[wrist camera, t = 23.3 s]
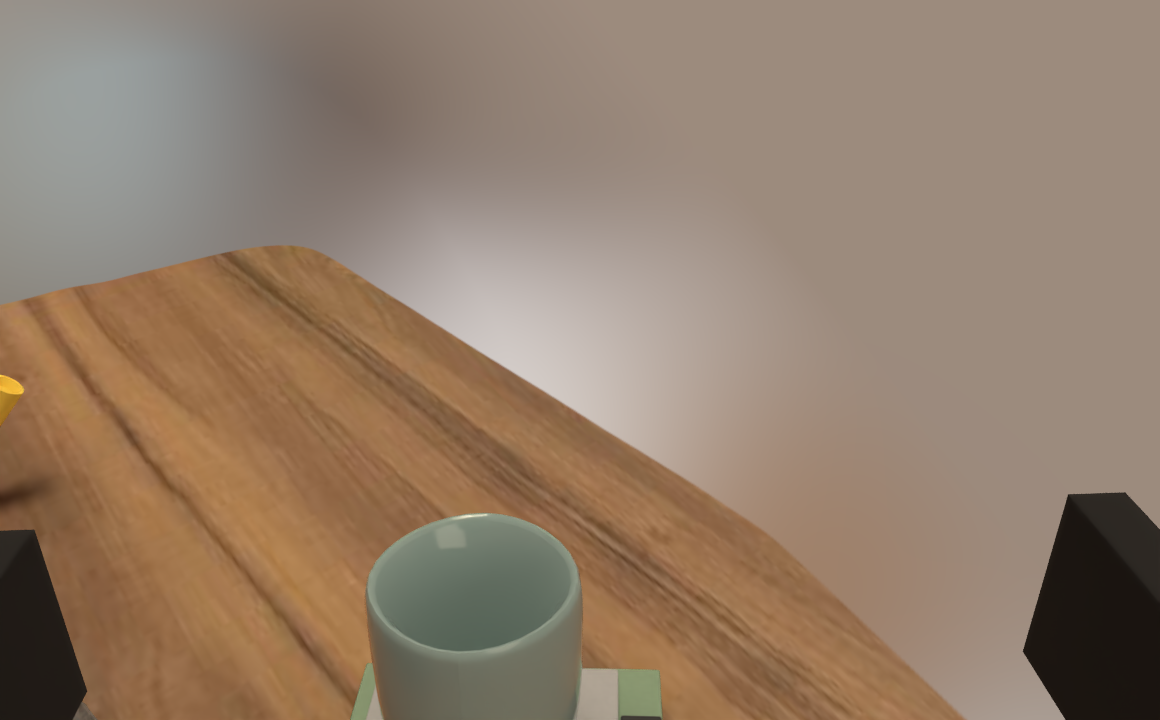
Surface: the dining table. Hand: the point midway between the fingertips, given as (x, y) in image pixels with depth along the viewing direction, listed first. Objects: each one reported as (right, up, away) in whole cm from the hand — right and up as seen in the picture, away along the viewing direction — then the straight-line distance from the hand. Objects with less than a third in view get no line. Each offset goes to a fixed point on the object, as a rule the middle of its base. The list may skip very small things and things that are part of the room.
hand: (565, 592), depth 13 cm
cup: (-4, -14, +28) cm, 31 cm away
